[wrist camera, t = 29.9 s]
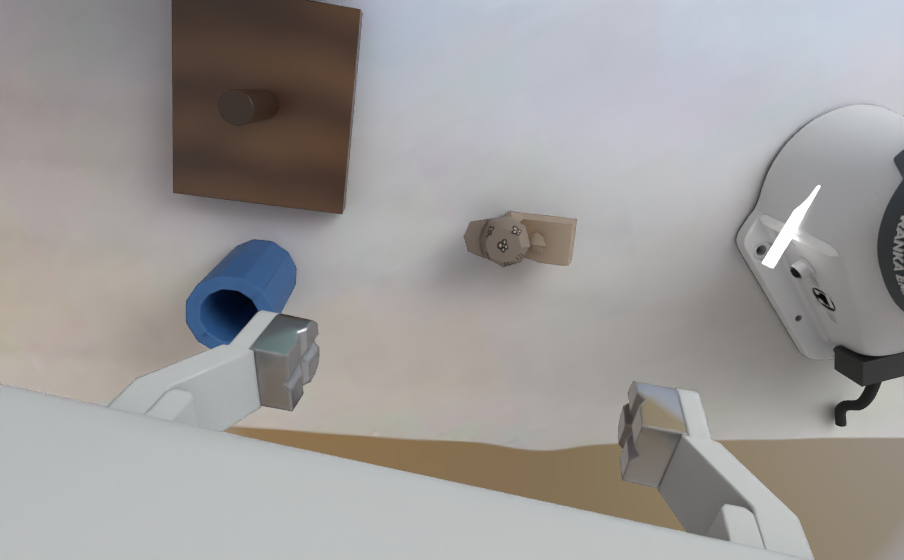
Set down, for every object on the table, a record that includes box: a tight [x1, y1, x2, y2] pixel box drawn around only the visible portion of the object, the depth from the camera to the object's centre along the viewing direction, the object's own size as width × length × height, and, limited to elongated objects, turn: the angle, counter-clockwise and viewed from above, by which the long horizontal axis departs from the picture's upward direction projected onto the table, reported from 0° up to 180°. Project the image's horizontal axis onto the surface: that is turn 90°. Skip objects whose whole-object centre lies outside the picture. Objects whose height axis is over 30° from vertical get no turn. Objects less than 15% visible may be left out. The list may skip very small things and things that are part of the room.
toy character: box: [464, 211, 577, 267], centre depth 43 cm, size 4×8×6 cm, turn 87°
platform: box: [172, 0, 363, 214], centre depth 36 cm, size 14×12×9 cm
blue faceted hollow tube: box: [186, 239, 297, 349], centre depth 40 cm, size 5×5×9 cm
